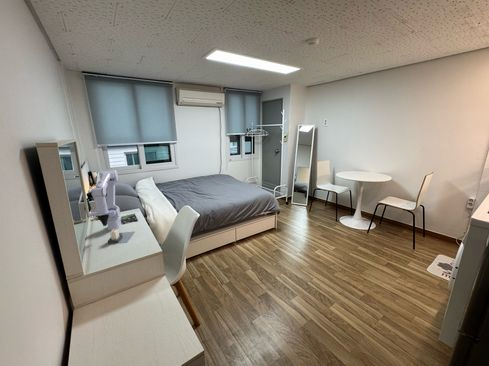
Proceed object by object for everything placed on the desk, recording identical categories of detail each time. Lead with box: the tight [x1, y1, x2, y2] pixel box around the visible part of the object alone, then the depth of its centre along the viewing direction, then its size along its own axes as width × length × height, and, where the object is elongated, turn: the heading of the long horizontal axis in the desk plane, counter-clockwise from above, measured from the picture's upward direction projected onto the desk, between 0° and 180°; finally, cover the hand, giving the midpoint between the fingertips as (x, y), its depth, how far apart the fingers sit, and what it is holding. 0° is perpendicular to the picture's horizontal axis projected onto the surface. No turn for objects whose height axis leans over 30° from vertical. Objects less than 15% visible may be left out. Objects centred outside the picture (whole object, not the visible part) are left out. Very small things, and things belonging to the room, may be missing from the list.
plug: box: [110, 229, 120, 240], centre depth 136 cm, size 4×3×7 cm
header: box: [107, 235, 123, 245], centre depth 137 cm, size 7×6×2 cm
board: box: [106, 231, 136, 245], centre depth 140 cm, size 15×12×2 cm
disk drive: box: [120, 213, 139, 225], centre depth 168 cm, size 10×3×15 cm
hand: (105, 225), depth 137 cm, fingers closed
